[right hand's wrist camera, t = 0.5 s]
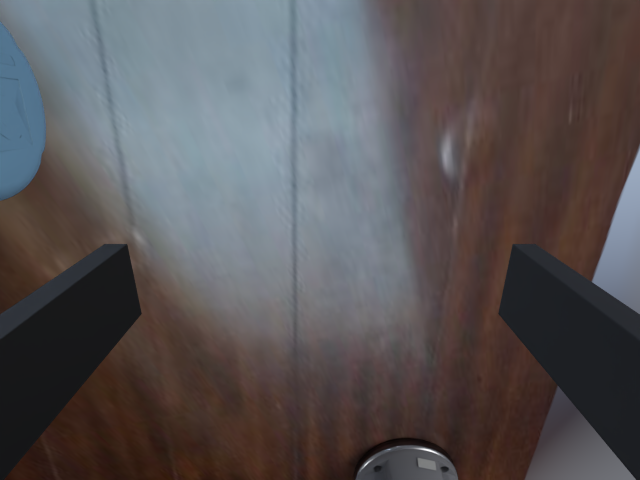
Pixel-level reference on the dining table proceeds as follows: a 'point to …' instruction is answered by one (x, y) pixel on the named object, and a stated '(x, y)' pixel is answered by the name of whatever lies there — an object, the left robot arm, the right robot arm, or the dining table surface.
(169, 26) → the dining table surface
